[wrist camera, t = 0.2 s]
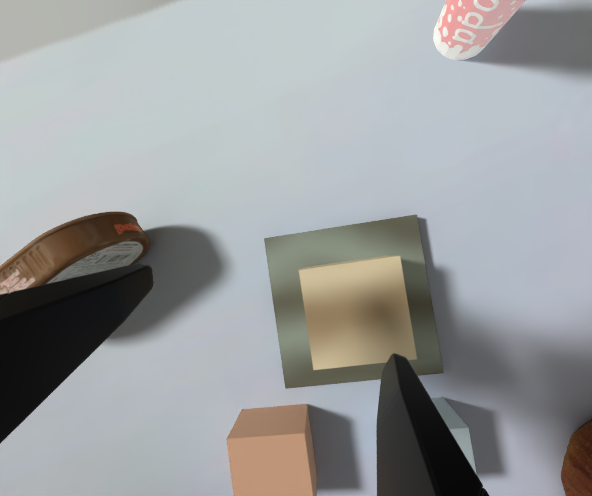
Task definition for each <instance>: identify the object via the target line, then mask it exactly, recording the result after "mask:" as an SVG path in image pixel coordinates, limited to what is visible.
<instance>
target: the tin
mask: <svg viewBox="0 0 592 496" xmlns="http://www.w3.org/2000/svg"><path fill="white" fill-rule="evenodd" d="M148 248H149V239H148V238H147V236H146V234H145V233H144V231H143V230H142V228H141V227H140V226H139V224H138V222H137V219H136V218H135V217H134V216H133V215H131V214H129V213H125V212H105V213H98V214H92V215H89V216H84V217H81V218H78V219H75V220H72V221H69V222H67V223H64V224H62V225H60V226H57V227H55V228H53V229H51V230H49V231H47V232H46V233H43V234H42V235H40V236H39V237H37V238H36V239H34V240H33V241H31V242H30V243H29V244H28V245H26V246H25V247H24V248H23V249H21V250H20V251H19V252H18V253H16V254H15V255H14V256H12V257H11V258H10V259H8V260H7V261H6V262H5V263H3V264H2V265H1V266H0V294H4V293H10V292H13V291H18V290H22V289H27V288H31V287H35V286H40V285H44V284H49V283H53V282H57V281H62V280H66V279H70V278H75V277H79V276H84V275H88V274H92V273H97V272H101V271H105V270H110V269H114V268H119V267H123V266H127V265H132V264H134V263H136V262H137V261H138V260H139V259H140V258H141V257H142V256H143V255H144V254H145V253H146V251H147V250H148Z"/></svg>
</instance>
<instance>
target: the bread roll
mask: <svg viewBox="0 0 592 496" xmlns="http://www.w3.org/2000/svg"><path fill="white" fill-rule="evenodd" d="M561 480H562V483H563V486H564V490H565V494H566V496H592V420H591V421H589V422H588V423H586V424H585V425H583V426H582V427H580V428H579V429H578V430H577V431H576V432H575V433H574V434H573V435H572V437H571V439H570V442H569V445H568V447H567V452H566V454H565V457H564V462H563V467H562V471H561Z"/></svg>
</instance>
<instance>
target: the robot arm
mask: <svg viewBox="0 0 592 496" xmlns="http://www.w3.org/2000/svg"><path fill="white" fill-rule="evenodd" d="M152 287H153V274H152V268H151V266H149V265H146V264H143V263H136V264H132V265H127V266H123V267H119V268H114V269H110V270H105V271H101V272H97V273H92V274H88V275H84V276H79V277H75V278H70V279H66V280H62V281H57V282H53V283H49V284H44V285H40V286H35V287H31V288H27V289H22V290H18V291H13V292H10V293H4V294H0V443H1V442H2V441H3V440H4V439H5V438H6V437H7V436H8V435H9V434H10V433H11V432H12V431H13V430H14V429H15V428H17V427H18V426H19V425H20V424H21V423H22V422H23V421H24V420H25V419H26V418H27V417H28V416H29V415H30V414H31V413H32V412H33V411H34V410H35V409H36V408H37V407H38V406H39V405H40V404H41V403H42V402H43V401H44V400H45V399H46V398H47V397H48V396H49V395H50V394H51V393H52V392H53V391H54V390H55V389H56V388H57V387H58V386H59V385H60V384H61V383H62V382H63V381H64V380H65V379H66V378H67V377H68V376H69V375H70V374H71V373H72V372H73V371H74V370H75V369H76V368H77V367H78V366H79V365H80V364H82V363H83V362H84V361H85V360H86V359H87V358H88V357H89V356H90V355H91V354H92V353H93V352H94V351H95V350H96V349H97V348H98V347H99V346H100V345H101V344H102V343H103V342H104V341H105V340H106V339H107V338H108V337H109V336H110V335H111V334H112V333H113V332H114V331H115V330H116V329H117V328H118V327H119V326H120V325H121V324H122V323H123V322H124V321H125V320H126V319H127V317H128V316H129V315H130V314H131V313H132V312H133V310H134V309H135V308H136V307H137V306H138V304H139V303H140V302H141V301H142V300H143V298H144V297H145V296H146V295H147V294H148V293H149V291H150V290H151V289H152ZM482 487H483V485H482V483H481V481H480V480H479V478H478V476H477V475H476V473H475V471H474V470H473V468H472V466H471V465H470V463H469V461H468V460H467V458H466V456H465V455H464V453H463V451H462V450H461V448H460V446H459V445H458V443H457V441H456V440H455V438H454V436H453V435H452V433H451V431H450V430H449V428H448V426H447V425H446V423H445V421H444V420H443V418H442V416H441V415H440V413H439V411H438V409H437V408H436V406H435V404H434V403H433V401H432V399H431V398H430V396H429V394H428V393H427V391H426V389H425V388H424V386H423V384H422V383H421V381H420V379H419V378H418V376H417V374H416V373H415V371H414V369H413V368H412V366H411V364H410V363H409V361H408V359H407V358H406V357H404V356H401V355H399V354H396V353H393V354H392V355H391V356H390V358H389V359H388V361H387V363H386V365H385V366H384V368H383V371H382V376H381V385H380V395H379V405H378V414H377V496H489V495H488V493H487V491H486V490H485V489H484V488H482Z"/></svg>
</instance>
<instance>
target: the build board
mask: <svg viewBox="0 0 592 496" xmlns="http://www.w3.org/2000/svg"><path fill="white" fill-rule="evenodd" d="M264 241H265V248H266V255H267V262H268V269H269V276H270V283H271V290H272V297H273V304H274V311H275V318H276V325H277V332H278V339H279V346H280V353H281V360H282V367H283V374H284V381H285V388H296V387H306V386H316V385H326V384H337V383H347V382H357V381H367V380H377V379H381V376H382V371H383V368H384V366H385V365H386V363H387V361H388V359H389V358H390V356H391V355H392V354H393V353H396V354H399V355H401V356H404V357H406V358H407V359H408V361H409V363H410V364H411V366H412V368H413V369H414V371H415V373H416V374H417V375H427V374H438V373H443V367H442V361H441V355H440V349H439V343H438V337H437V331H436V325H435V319H434V313H433V307H432V301H431V296H430V290H429V284H428V278H427V272H426V266H425V260H424V254H423V248H422V242H421V236H420V230H419V224H418V218H417V215H411V216H404V217H398V218H391V219H385V220H379V221H372V222H366V223H360V224H353V225H347V226H341V227H334V228H328V229H322V230H315V231H309V232H303V233H296V234H290V235H283V236H277V237H271V238H264Z"/></svg>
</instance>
